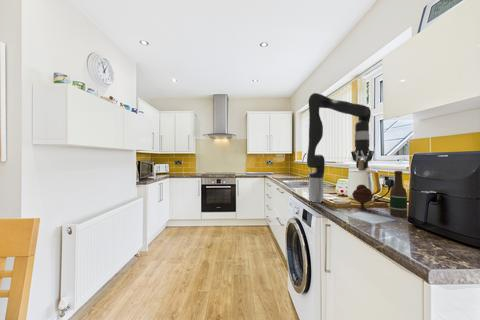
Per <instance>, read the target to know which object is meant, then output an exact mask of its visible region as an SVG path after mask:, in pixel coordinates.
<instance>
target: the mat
mask: <svg viewBox="0 0 480 320" xmlns="http://www.w3.org/2000/svg"><path fill="white" fill-rule="evenodd" d="M342 215H343V216H346V217H348V218H352V219H356V220H360V221H362V222H366V223H370V224H373V225H374V224H382V223H389V222H394V221H396V218H395V219H394V218H391V217H387V216H383V215H378V214H374V213H372V212H367V211H359V212H352V213H345V214H344V213H343V214H342Z"/></svg>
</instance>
